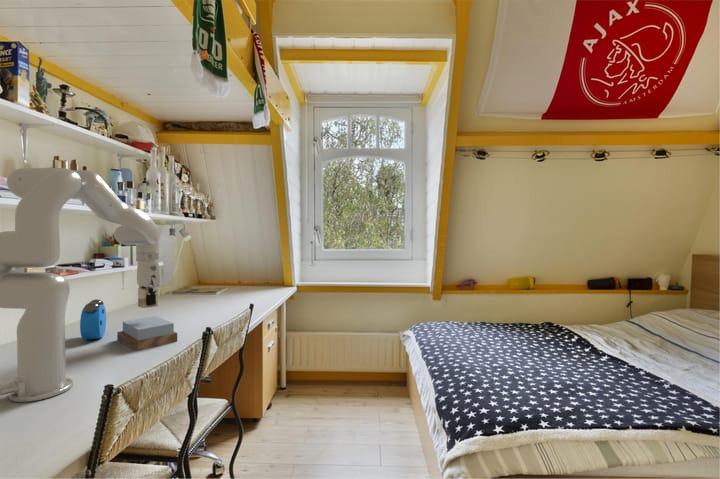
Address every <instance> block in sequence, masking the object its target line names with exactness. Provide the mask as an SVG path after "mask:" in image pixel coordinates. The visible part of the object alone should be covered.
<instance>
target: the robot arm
mask: <svg viewBox="0 0 720 479" xmlns="http://www.w3.org/2000/svg"><path fill="white" fill-rule="evenodd" d="M6 185H7V189H9V191H10V192H11V193H12V194H13V195H14V196H16V197H18V198H19V199H20V200H19V202H18V203H17V206H16V208H15V213H14V214H15V215H14V231H13V230H8V231H7V230H6V231H1V232H0V309H17V310H18V309H19V310H24V312H23V314H22V316H21V317H20V319H19V321H18V323H17V326H16V352H17V353H16V355H17V356H16V357H17V358H16V361H17V362H16V364H17V365H16V366H17V368H16V369H17V371H16V372H17V373H16V374H17V377H14V378H13V381H9V382H8V383H7V384H2V385H0V396H5V395H8V399H9V400H10V401H12V402H16V403H27V402H35V401H40V400H44V399H49V398H53V397H55V396H57V395H61V394H63V393H65V392H67V391H68V390H70V389H71V388H72V387H73V385H74V381H73V379H71V378H70V377H67V375H66V368H67V367H66V309H67V305H68V304H67V303H68V300H69V295H70V289H71V288H70V284H69V281H67V279H66V278H65V277H64V276H62V275H59V274H58V273H52V272H45V271H44V272H43V271H42V272H41V271H40V272H39V271H38V272H36V271H35V272H33V271H32V272H27V271H26V272H25V268H26V269H27V268H28V269H29V268H30V269H31V268H34V269H35V268H48V267H52V266H53V265H55V264H57V263H58V261H59V259H60V256H61V241H60V240H61V239H60V213H61V210H62V208H63V207H64V206H65V204H66V203H67V202H68V201H69V200H70V199H79V200H80V201H81V202H82V203H84V204H85V205H86V207H87V208H89V209H90V210H91V211H92V212H93V213H94V214H95V215H96V216H97V217H98V218H99V219H101V220H103V221H106V222H109V223H112V224H117V225H119V226H117V227H116V228H115V230H114V232H113V236H114V239H115V240H116V242H118V243H119V244H121V245H126V246H135V261H136V262H137V267H136V268H137V270H136V283H137V285H138V288H147V295H146V305H147V306H149V305H155V304H156V290H157V288H158V289H159V287H160V285H161V270H160V265H159V258H160V256H159V255H160V254H159V253H160V252H159V248H160V246H159V244H160V242H159V241H160V235H161V234H160V230H159V227H158V226H157V225H156V223H155V222H154V220H153V219H152V218H151V217H150V216H149V215H147V213H145V212H143V211H142V210H140V209H138V208H136V207H134V206H132V205H130V204H128V203H126V202H124V201H122V200H121V198H120V197H119V196H118V195H117V193H115V192H114V191H113V189H112V188H111V187H110V186H109V184H107V182H106V181H105V180H104V178H102V176H100V175H99V174H98V173H96V172H94V171H91V170H84V169H83V170H79V169H77V170H76V169H74V170H73V169H69V168H65V167H39V168H38V167H22V168H21V167H20V168H17V169H14V170H13V171H11V172H10V173H9V175H8V176H7V178H6ZM149 288H151V289H149Z"/></svg>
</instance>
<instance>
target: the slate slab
mask: <svg viewBox="0 0 720 479" xmlns="http://www.w3.org/2000/svg"><path fill="white" fill-rule="evenodd" d="M174 329H175V328H174V322H171V321H169V320H166V319H164V318H162V317H160V316H157V315H154V316H147V317H142V318H141V317H140V318H136V319H135V318H134V319H130V320H123V321H122V331H123V332H124V333H126V334H128V335H129V336H131V337H133V338H135V339H136V340H138V341H140V340H145V339H150V338H155V337H160V336H164V335H169V334H174V332H175V330H174Z"/></svg>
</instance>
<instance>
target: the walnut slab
mask: <svg viewBox="0 0 720 479" xmlns="http://www.w3.org/2000/svg"><path fill="white" fill-rule="evenodd" d="M116 336H117V337H116V339H117V340H116V341H117V342H119V343H121V344H123V345H125V346H127V347H129V348H131V349H133V350H135V351H138V352H139V351H143V350H147V349H151V348H155V347H159V346H160V347H161V346H163V345H167V344H173V343H176V342H178V332H176V331H174V334H169V335H164V336H160V337H155V338H150V339H145V340H140V341H138V340H136V339H135V338H133V337H131V336H129V335H128V334H126V333H124V332H123V330H120V331H117V334H116Z"/></svg>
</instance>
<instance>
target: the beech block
mask: <svg viewBox="0 0 720 479" xmlns="http://www.w3.org/2000/svg"><path fill="white" fill-rule="evenodd" d="M137 289H138V290H137V305H138V306H137V307H139V308H142V309H147V308H153V307H158V305H159V304H158V302H159V300H158V295H159V294H158V292H159V291H158V289H159V287H158V288H157V290H156V304H155V305H149V306H147V305H146V295H147V288H139V287H138V288H137ZM149 289H151V288H149Z"/></svg>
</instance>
